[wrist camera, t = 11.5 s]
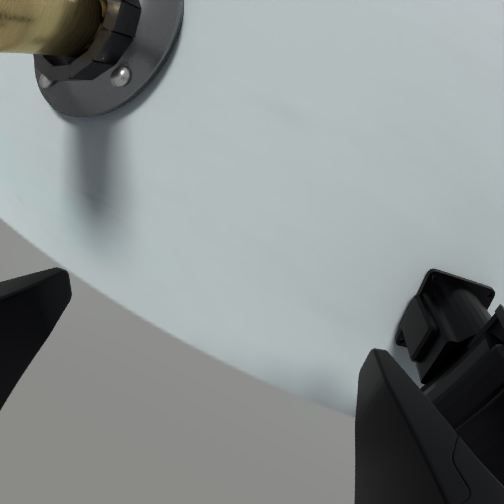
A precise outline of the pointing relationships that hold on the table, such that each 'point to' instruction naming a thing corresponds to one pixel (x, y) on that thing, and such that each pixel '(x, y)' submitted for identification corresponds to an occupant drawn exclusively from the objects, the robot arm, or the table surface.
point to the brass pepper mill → (50, 26)
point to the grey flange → (112, 58)
